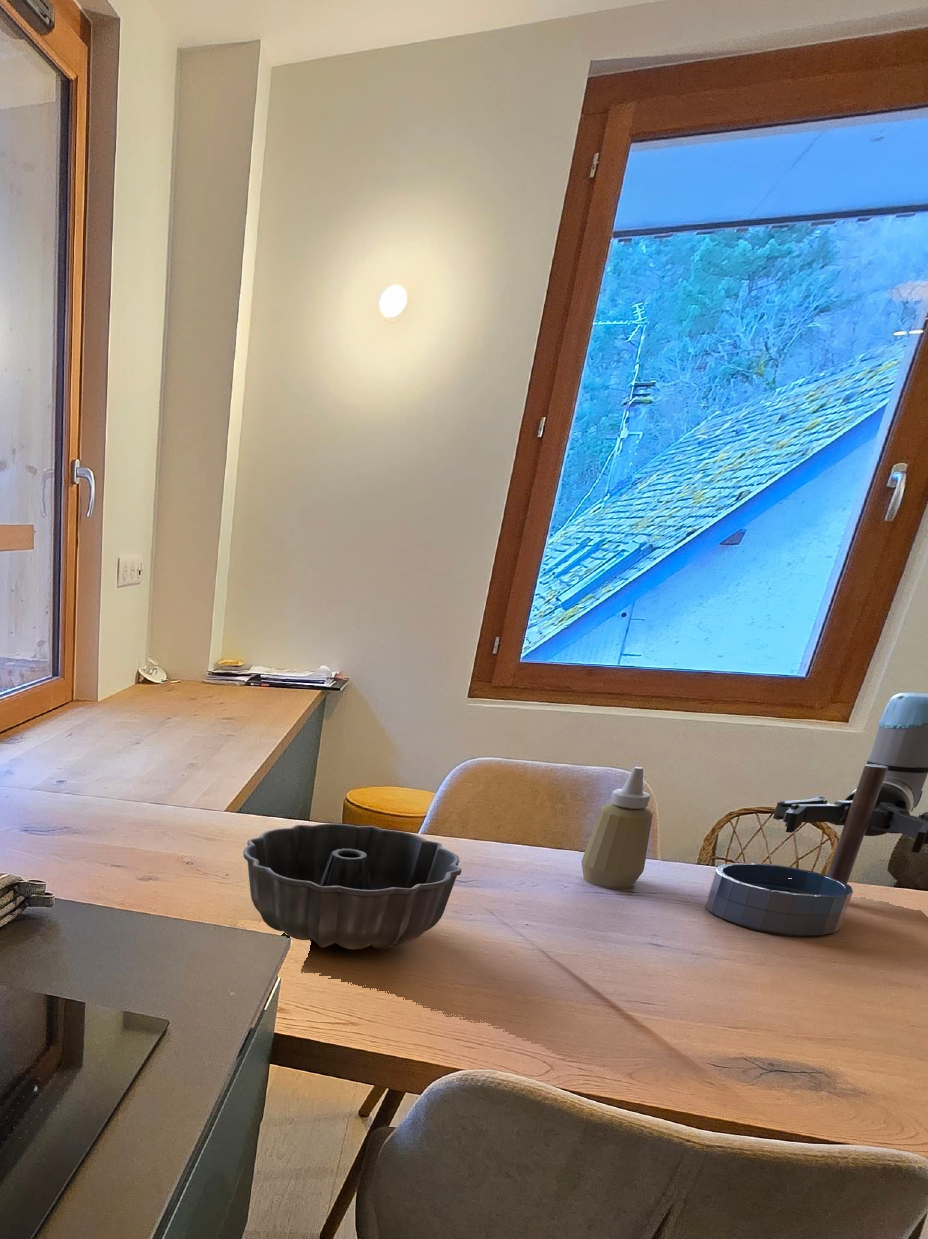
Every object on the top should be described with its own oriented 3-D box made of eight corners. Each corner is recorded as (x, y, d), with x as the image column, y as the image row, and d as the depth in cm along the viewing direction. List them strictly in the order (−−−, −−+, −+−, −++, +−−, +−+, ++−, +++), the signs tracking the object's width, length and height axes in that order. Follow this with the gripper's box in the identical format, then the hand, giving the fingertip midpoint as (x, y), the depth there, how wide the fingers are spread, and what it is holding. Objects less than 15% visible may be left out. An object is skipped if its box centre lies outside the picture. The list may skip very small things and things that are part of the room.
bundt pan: (195, 918, 128) (200, 847, 124) (321, 874, 142) (329, 809, 138) (362, 989, 109) (375, 908, 105) (488, 931, 123) (504, 857, 119)
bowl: (866, 940, 122) (882, 896, 120) (754, 941, 122) (768, 896, 120) (781, 903, 136) (794, 862, 133) (679, 903, 135) (691, 862, 133)
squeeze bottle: (578, 893, 139) (609, 772, 132) (572, 875, 146) (602, 758, 138) (642, 900, 137) (677, 777, 129) (633, 881, 143) (666, 763, 136)
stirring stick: (858, 914, 131) (911, 769, 124) (823, 914, 131) (873, 769, 124) (829, 902, 136) (879, 762, 128) (795, 902, 136) (842, 762, 128)
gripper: (979, 848, 136) (965, 879, 123) (768, 816, 153) (736, 841, 139) (1000, 796, 134) (988, 822, 120) (783, 770, 150) (751, 790, 137)
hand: (852, 832), depth 130 cm, fingers open, 13 cm apart
